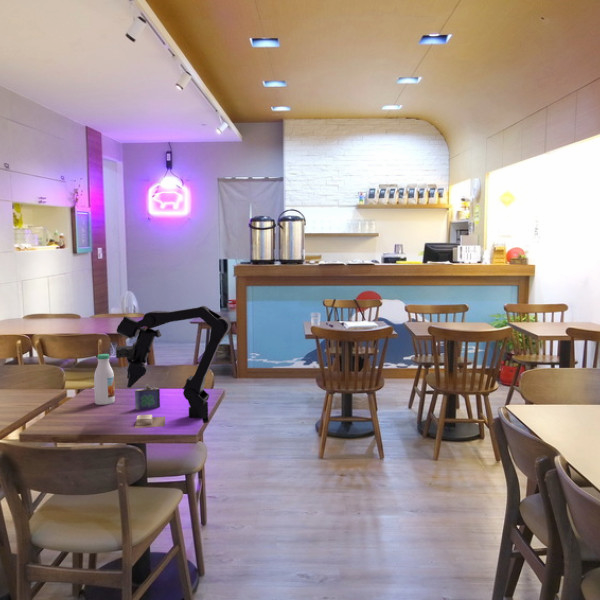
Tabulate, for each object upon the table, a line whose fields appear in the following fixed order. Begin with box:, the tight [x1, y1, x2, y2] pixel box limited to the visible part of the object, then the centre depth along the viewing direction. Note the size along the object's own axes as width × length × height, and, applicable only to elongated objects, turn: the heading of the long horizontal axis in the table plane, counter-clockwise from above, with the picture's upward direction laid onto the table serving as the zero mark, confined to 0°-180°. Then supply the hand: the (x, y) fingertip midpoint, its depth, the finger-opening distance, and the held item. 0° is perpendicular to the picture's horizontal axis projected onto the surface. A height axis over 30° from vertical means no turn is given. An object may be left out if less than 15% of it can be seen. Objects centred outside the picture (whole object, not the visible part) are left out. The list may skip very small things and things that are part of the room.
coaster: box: [136, 414, 153, 425], centre depth 196 cm, size 5×5×2 cm
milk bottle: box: [93, 353, 116, 406], centre depth 228 cm, size 8×8×20 cm
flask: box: [134, 383, 161, 411], centre depth 215 cm, size 9×3×11 cm, turn 109°
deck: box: [134, 416, 166, 429], centre depth 196 cm, size 10×12×2 cm
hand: (128, 382), depth 204 cm, fingers open, 9 cm apart
